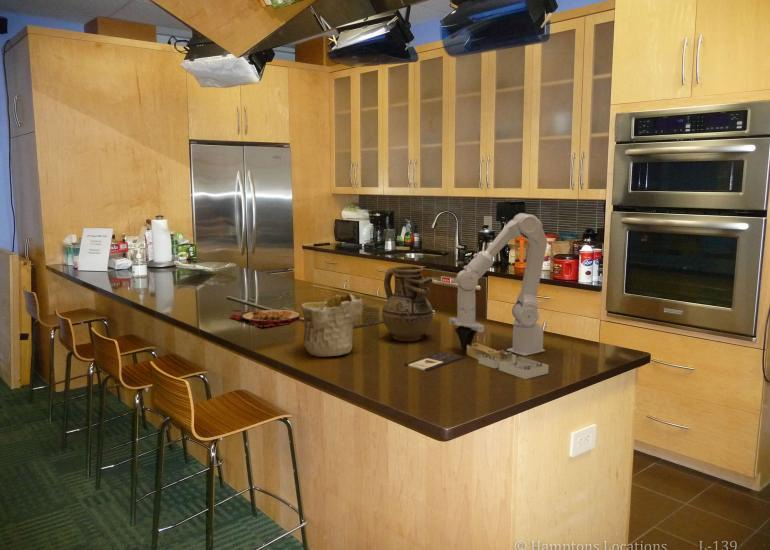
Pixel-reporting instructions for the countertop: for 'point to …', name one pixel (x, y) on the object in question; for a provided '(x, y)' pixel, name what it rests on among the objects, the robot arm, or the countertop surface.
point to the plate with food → (268, 317)
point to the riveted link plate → (481, 351)
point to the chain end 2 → (524, 368)
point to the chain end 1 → (493, 362)
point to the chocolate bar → (434, 361)
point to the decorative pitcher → (407, 303)
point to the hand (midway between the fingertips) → (465, 349)
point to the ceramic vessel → (330, 325)
